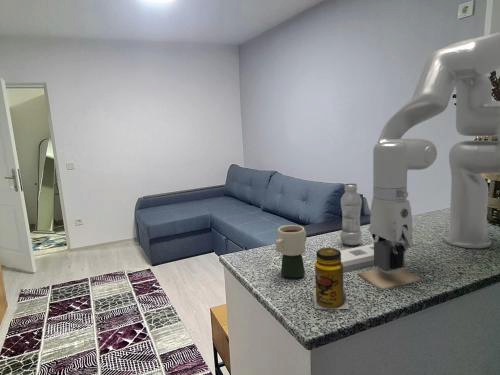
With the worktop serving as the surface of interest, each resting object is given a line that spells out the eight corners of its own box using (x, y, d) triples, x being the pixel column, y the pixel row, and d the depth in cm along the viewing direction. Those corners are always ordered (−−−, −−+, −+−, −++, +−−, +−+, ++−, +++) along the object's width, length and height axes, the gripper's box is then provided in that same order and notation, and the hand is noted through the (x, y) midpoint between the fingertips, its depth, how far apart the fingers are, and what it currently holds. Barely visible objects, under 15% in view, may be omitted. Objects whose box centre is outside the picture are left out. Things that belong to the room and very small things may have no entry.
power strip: (384, 251, 100) (384, 239, 100) (401, 259, 94) (401, 247, 93) (326, 263, 94) (326, 251, 94) (341, 272, 88) (340, 260, 87)
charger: (391, 265, 86) (391, 239, 85) (403, 271, 82) (404, 244, 81) (373, 269, 84) (373, 242, 83) (385, 276, 80) (386, 248, 79)
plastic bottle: (338, 241, 111) (337, 183, 107) (357, 240, 111) (357, 182, 108) (344, 248, 105) (343, 186, 101) (365, 247, 105) (365, 185, 101)
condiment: (314, 309, 71) (313, 257, 69) (312, 290, 80) (311, 243, 77) (349, 310, 70) (349, 257, 68) (343, 290, 79) (343, 242, 76)
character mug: (297, 265, 94) (295, 221, 92) (316, 272, 89) (315, 226, 87) (269, 277, 88) (266, 230, 86) (287, 286, 82) (285, 236, 80)
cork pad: (394, 266, 90) (394, 264, 89) (421, 279, 81) (421, 278, 81) (357, 275, 86) (357, 273, 86) (381, 290, 77) (381, 288, 77)
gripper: (430, 197, 73) (428, 274, 76) (378, 186, 89) (378, 250, 92) (403, 201, 71) (402, 280, 74) (355, 189, 86) (355, 255, 90)
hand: (388, 263), depth 83 cm, fingers open, 4 cm apart
